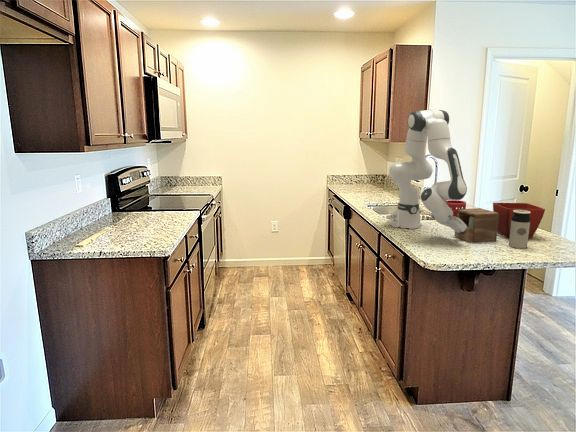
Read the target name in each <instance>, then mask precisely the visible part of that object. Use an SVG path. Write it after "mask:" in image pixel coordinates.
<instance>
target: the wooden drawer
mask: <svg viewBox="0 0 576 432" xmlns="http://www.w3.org/2000/svg"><path fill="white" fill-rule="evenodd" d="M473 232H474V229H472V228H469V227H467V228H466V230H465V231H464V232H460V233H458V232H455V231H454V237H455V238H458V239H461V240H463V241H465V242H468V243H472V242H473Z"/></svg>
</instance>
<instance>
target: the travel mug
mask: <svg viewBox="0 0 576 432" xmlns="http://www.w3.org/2000/svg"><path fill="white" fill-rule="evenodd" d="M513 212H514V215H513V216H512V220H511V229H510V238H508V245H509V247H511V248H513V247H515V248H514V249H519V248H523V249H526V247H528V242H529V241H528V240H529V238H528V235H529V227H530V216H529V215H530V213H531V212H530V211H526V210H513Z"/></svg>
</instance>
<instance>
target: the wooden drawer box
mask: <svg viewBox="0 0 576 432" xmlns="http://www.w3.org/2000/svg"><path fill="white" fill-rule="evenodd" d="M470 216H474V227H473V229H474V232H473V242H471V243H472V244H479V243H480V244H481V243H491V242H497V237H498V232H497V230H498V220H499V213H497V212H493V210H489V209H486V208H482V207H478V208H477V207H476V208H466V209H460V208H459V210H458V216H457V217H458V218H460V219H461V220H462V221H463V222H464V223H465V224H466V225H467V227H469V218H470Z"/></svg>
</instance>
